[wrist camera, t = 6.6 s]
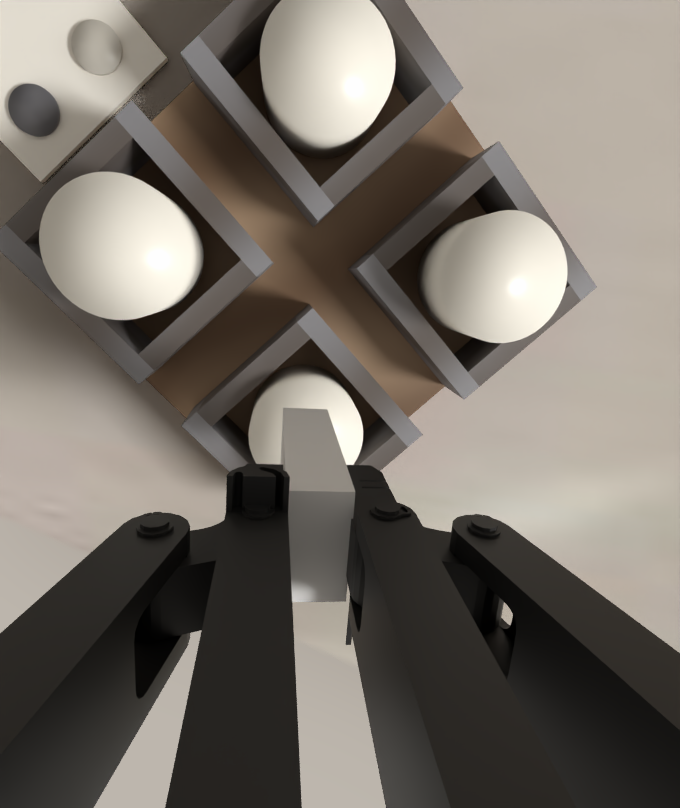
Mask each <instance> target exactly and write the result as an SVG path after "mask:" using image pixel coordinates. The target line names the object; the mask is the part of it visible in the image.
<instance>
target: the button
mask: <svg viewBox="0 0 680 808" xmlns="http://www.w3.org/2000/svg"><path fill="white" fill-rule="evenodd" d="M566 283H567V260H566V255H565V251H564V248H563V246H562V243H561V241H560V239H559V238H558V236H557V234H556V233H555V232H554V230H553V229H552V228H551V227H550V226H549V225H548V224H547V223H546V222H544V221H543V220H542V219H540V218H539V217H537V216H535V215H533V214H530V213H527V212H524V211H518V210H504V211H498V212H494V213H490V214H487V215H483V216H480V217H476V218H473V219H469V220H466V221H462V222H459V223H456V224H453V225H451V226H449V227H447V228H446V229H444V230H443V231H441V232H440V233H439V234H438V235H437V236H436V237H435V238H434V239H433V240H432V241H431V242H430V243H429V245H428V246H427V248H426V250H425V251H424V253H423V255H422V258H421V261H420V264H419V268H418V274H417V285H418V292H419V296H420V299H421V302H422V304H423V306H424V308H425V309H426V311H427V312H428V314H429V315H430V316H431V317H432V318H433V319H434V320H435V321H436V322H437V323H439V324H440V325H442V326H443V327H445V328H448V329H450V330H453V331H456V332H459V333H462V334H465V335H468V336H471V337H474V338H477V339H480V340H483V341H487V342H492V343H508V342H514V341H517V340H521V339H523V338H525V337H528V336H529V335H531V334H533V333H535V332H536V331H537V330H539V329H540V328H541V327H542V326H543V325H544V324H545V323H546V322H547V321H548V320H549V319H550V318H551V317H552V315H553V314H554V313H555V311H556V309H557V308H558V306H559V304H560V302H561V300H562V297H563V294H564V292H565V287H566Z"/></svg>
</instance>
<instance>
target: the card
mask: <svg viewBox="0 0 680 808" xmlns="http://www.w3.org/2000/svg"><path fill="white" fill-rule="evenodd" d="M167 62H168V59H167V57H166V56H165V55H164V54H163V52H162V51H161V50H160V49H159V48H158V46H157V45H156V44H155V43H154V41H153V40H152V39H151V38H150V37H149V35H148V34H147V33H146V32H145V31H144V29H143V28H142V27H141V26H140V25H139V23H138V22H137V21H136V20H135V19H134V17H133V16H132V15H131V14H130V13H129V11H128V10H127V9H126V8H125V6H124V5H123V4H122V3H121V2H120V0H0V141H1V142H2V143H3V144H4V145H5V146H6V147H7V148H8V149H9V150H10V151H11V152H12V153H13V154H14V155H15V156H16V157H17V158H18V159H19V160H20V161H21V162H22V163H23V164H24V165H25V166H26V167H27V169H28V170H29V171H30V172H31V173H32V174H33V175H34V176H35V177H36V178H37V179H38V180H39V181H40V182H42V183H44V182H45V181H46V180H47V179H48V178H49V177H50V176H51V175H52V174H53V173H54V172H56V171H57V170H58V169H59V168H60V167H61V166H62V165H63V164H64V163H65V162H66V161H67V160H68V159H69V158H70V157H71V156H72V155H73V154H74V153H75V152H76V151H77V150H78V149H79V148H80V147H81V146H82V145H83V144H84V143H85V142H86V141H87V140H88V139H89V138H90V137H91V136H92V135H93V134H94V133H95V132H96V131H97V130H98V129H99V128H100V127H101V126H102V125H103V124H104V123H105V122H106V121H107V120H108V119H110V118H111V117H112V116H113V115H114V114H115V113H116V112H117V111H118V110H119V109H120V108H121V107H122V106H123V105H124V104H125V103H126V102H127V101H128V100H129V99H130V98H131V97H132V96H133V95H134V94H135V93H136V92H137V91H138V90H139V89H140V88H141V87H142V86H143V85H144V84H145V83H146V82H147V81H148V80H149V79H150V78H151V77H152V76H153V75H154V74H155V73H156V72H157V71H158V70H159V69H160V68H161V67H162V66H164V65H165V64H166V63H167Z"/></svg>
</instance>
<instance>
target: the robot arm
mask: <svg viewBox="0 0 680 808" xmlns="http://www.w3.org/2000/svg"><path fill="white" fill-rule="evenodd" d="M347 582H348V586H349V591H350V603H349V614H348V625H347V636H346V645H351V639H352V637H353V641H354V646H355V651H356V656H357V662H358V667H359V672H360V677H361V682H362V687H363V692H364V697H365V702H366V707H367V712H368V717H369V722H370V727H371V733H372V738H373V743H374V748H375V753H376V758H377V763H378V768H379V774H380V779H381V784H382V789H383V794H384V799H385V804H386V808H680V653H679V652H677V651H676V650H675V649H673V648H672V647H671V646H669V645H668V644H667V643H665V642H664V641H662V640H661V639H660V638H658V637H657V636H656V635H654V634H653V633H652V632H650V631H649V630H648V629H646V628H645V627H644V626H642V625H641V624H640V623H638V622H637V621H636V620H634V619H633V618H632V617H630V616H629V615H628V614H626V613H625V612H624V611H622V610H621V609H619V608H618V607H617V606H615V605H614V604H613V603H611V602H610V601H609V600H607V599H606V598H605V597H603V596H602V595H601V594H599V593H598V592H597V591H595V590H594V589H593V588H591V587H590V586H589V585H587V584H586V583H585V582H583V581H582V580H581V579H579V578H578V577H576V576H575V575H574V574H572V573H571V572H570V571H568V570H567V569H566V568H564V567H563V566H562V565H560V564H559V563H558V562H556V561H555V560H554V559H552V558H551V557H550V556H548V555H547V554H546V553H544V552H543V551H542V550H540V549H539V548H538V547H536V546H535V545H533V544H532V543H531V542H529V541H528V540H527V539H525V538H524V537H523V536H521V535H520V534H519V533H517V532H516V531H515V530H513V529H512V528H511V527H509V526H508V525H506V524H504V523H502V522H501V521H499V520H496V519H493V518H491V517H489V516H485V515H483V516H482V515H479V514H475V515H464V516H461V517H457V518H456V519H455V520H454V521H453V524H452V531H451V532H445V531H439V530H434V529H430V528H425V527H423V526H422V524H421V523H420V521H419V519H418V517H417V515H416V514H415V512H414V511H413V510H412V509H411V508H409V507H407V506H405V505H403V504H400V503H397V502H396V500H395V498H394V496H393V494H392V492H391V490H390V489H389V486H388V484H387V482H386V480H385V478H384V476H383V474H382V472H380V471H379V470H377V469H376V468H374V467H373V466H371V465H346V463H345V460H344V457H343V454H342V451H341V448H340V445H339V442H338V439H337V436H336V433H335V430H334V427H333V424H332V422H331V419H330V416H329V413H328V410H327V409H306V408H283V418H282V440H281V461H280V464H246V465H245V466H243V467H238V468H236V469H234V470H232V471H230V472H229V474H228V475H227V495H226V515H225V520H224V521H222V522H221V523H219V524H217V525H214V526H211V527H208V528H204V529H199V530H193V531H190V525H189V523H188V521H187V520H186V519H185V518H183V517H181V516H179V515H175V514H171V513H162V512H153V513H147V514H144V515H141V516H138V517H135V518H132V519H131V520H129V521H127V522H126V523H124V524H123V525H122V526H121V527H119V528H118V529H117V530H116V531H115V532H114V533H113V534H112V535H110V536H109V537H108V538H107V539H106V540H105V541H104V542H103V543H101V544H100V545H99V546H98V547H97V548H96V549H95V550H94V551H92V552H91V553H90V554H89V555H88V556H87V557H86V558H85V559H83V560H82V561H81V562H80V563H79V564H78V565H77V566H76V567H74V568H73V569H72V570H71V571H70V572H69V573H68V574H67V575H66V576H65V577H63V578H62V579H61V580H60V581H59V582H58V583H57V584H56V585H54V586H53V587H52V588H51V589H50V590H49V591H48V592H46V593H45V594H44V595H43V596H42V597H41V598H40V599H39V600H37V601H36V602H35V603H34V604H33V605H32V606H31V607H30V608H28V609H27V610H26V611H25V612H24V613H23V614H22V615H21V616H19V617H18V618H17V619H16V620H15V621H14V622H13V623H12V624H10V625H9V626H8V627H7V628H6V629H5V630H4V631H3V632H1V633H0V808H93V807H94V806H95V804H96V802H97V801H98V799H99V797H100V795H101V794H102V792H103V790H104V788H105V787H106V785H107V784H108V782H109V780H110V778H111V777H112V775H113V773H114V771H115V770H116V768H117V766H118V765H119V763H120V761H121V759H122V757H123V756H124V754H125V753H126V751H127V749H128V747H129V746H130V744H131V742H132V740H133V739H134V737H135V735H136V734H137V732H138V730H139V728H140V727H141V725H142V723H143V722H144V720H145V718H146V716H147V715H148V713H149V711H150V710H151V708H152V706H153V704H154V703H155V701H156V699H157V698H158V696H159V694H160V692H161V691H162V689H163V687H164V685H165V684H166V682H167V680H168V679H169V677H170V675H171V673H172V672H173V670H174V668H175V666H176V665H177V663H178V661H179V660H180V658H181V656H182V654H183V653H184V651H185V649H186V648H187V646H188V642H189V639H190V633H191V632H195V631H199V630H202V632H201V637H200V641H199V646H198V651H197V657H196V661H195V666H194V671H193V675H192V680H191V685H190V691H189V695H188V700H187V705H186V710H185V715H184V719H183V724H182V729H181V734H180V739H179V744H178V748H177V753H176V758H175V763H174V768H173V773H172V778H171V783H170V788H169V792H168V797H167V802H166V807H165V808H302V807H301V785H300V763H299V743H298V742H299V741H298V721H297V698H296V675H295V655H294V632H293V610H292V602H336V601H346V594H347ZM504 602H505V603H506V604H507V605H508V607H509V608H510V609H511V611H512V613H513V618H512V623H511V625H508V624H507V623H506V622H505V621H504V620H503V619H502V618H501V615H502V609H503V604H504Z"/></svg>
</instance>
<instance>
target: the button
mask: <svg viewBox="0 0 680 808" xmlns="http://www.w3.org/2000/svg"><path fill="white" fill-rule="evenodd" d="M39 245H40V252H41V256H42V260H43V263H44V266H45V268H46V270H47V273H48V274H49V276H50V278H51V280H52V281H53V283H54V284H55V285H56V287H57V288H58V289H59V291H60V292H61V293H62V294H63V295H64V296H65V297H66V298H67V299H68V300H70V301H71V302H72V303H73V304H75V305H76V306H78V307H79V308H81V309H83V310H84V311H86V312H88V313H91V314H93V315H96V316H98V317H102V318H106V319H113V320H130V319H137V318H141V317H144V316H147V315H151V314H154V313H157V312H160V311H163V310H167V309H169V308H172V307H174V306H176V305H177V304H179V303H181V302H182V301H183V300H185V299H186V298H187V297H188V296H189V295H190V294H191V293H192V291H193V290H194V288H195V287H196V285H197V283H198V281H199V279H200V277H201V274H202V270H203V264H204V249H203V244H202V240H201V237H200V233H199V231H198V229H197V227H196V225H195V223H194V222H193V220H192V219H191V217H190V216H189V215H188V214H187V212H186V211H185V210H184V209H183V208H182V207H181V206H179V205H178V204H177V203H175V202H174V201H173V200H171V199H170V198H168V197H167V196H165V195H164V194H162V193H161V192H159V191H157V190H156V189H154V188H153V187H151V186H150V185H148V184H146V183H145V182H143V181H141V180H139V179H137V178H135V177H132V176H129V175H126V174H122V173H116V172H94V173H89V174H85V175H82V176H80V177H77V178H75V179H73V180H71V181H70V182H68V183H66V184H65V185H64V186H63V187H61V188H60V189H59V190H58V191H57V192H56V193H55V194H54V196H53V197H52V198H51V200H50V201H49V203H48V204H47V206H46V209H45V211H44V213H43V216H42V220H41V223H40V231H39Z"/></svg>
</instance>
